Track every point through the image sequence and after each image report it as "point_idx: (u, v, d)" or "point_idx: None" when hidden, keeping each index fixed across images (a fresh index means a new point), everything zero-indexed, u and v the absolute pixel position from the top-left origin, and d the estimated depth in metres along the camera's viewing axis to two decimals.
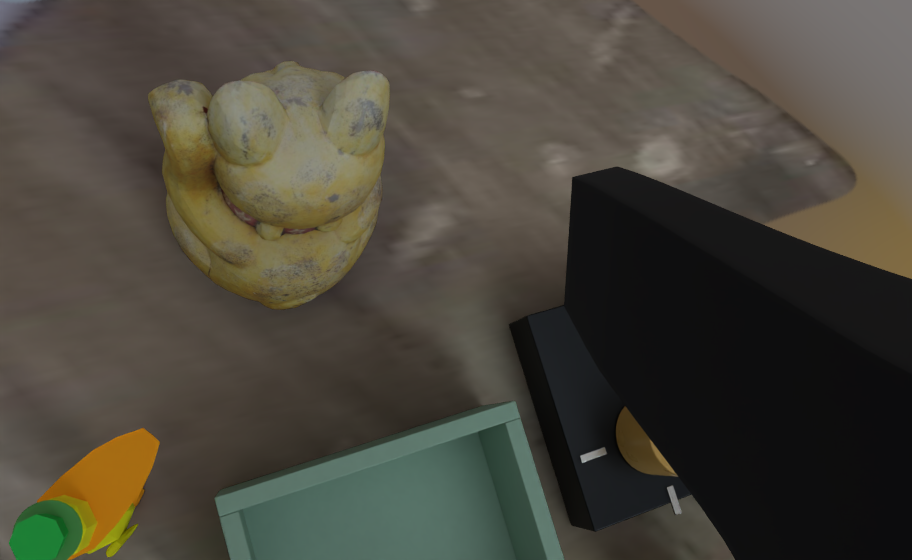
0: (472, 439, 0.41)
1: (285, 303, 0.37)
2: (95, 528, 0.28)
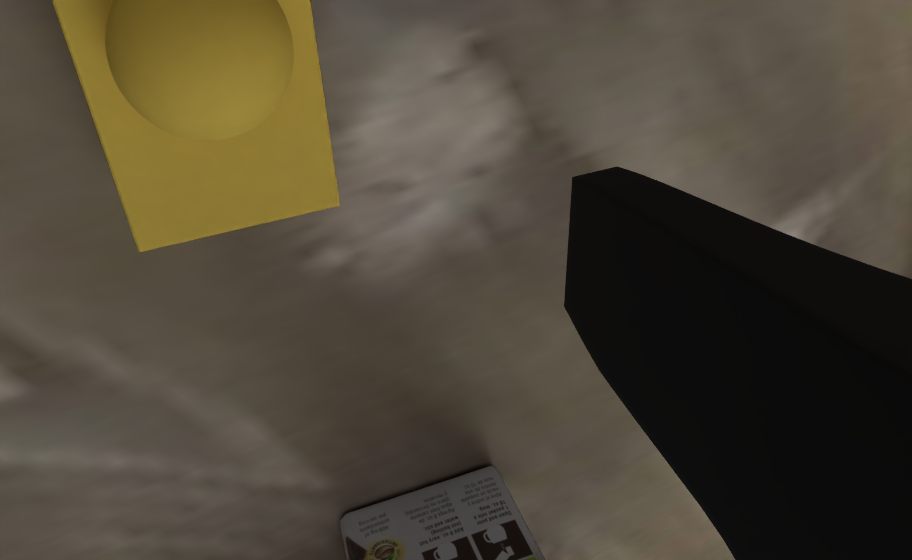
0: None
1: None
2: None
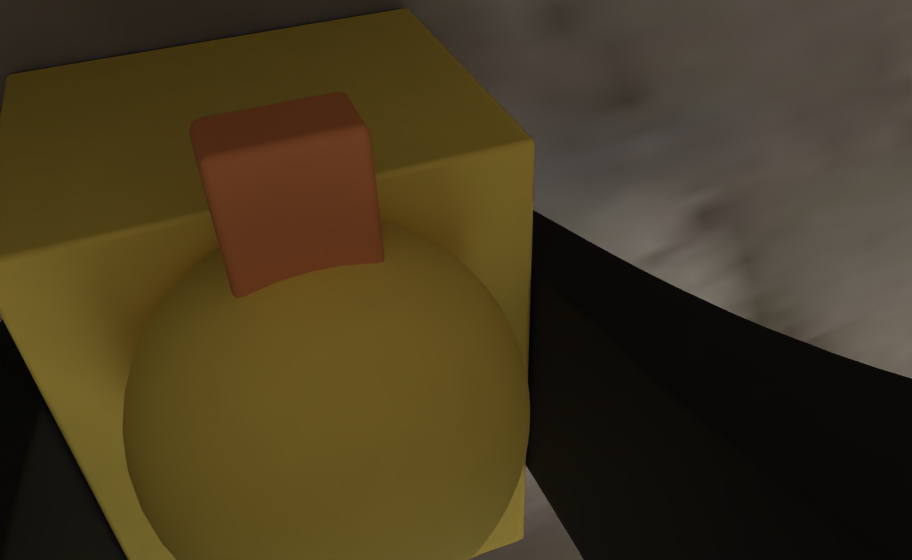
0: None
1: None
2: None
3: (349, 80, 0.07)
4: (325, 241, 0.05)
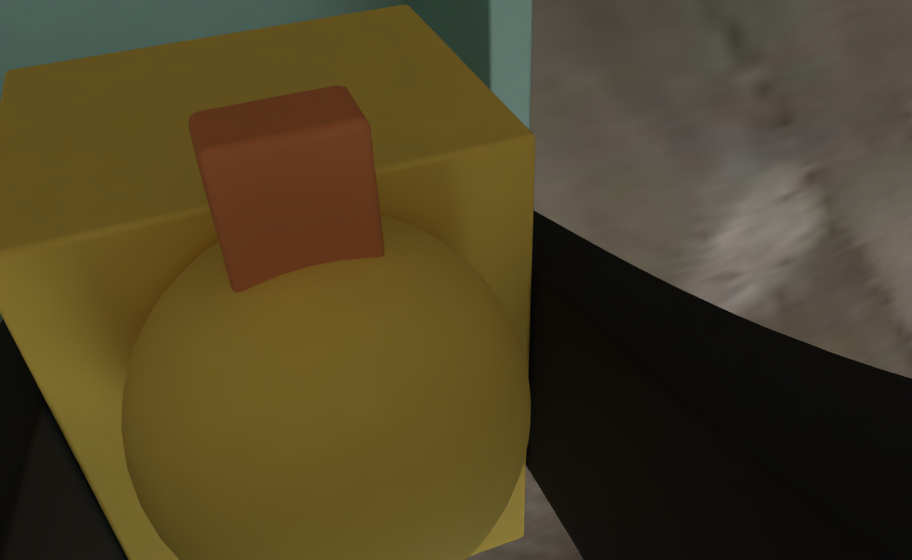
0: None
1: None
2: None
3: (348, 76, 0.07)
4: (324, 234, 0.05)
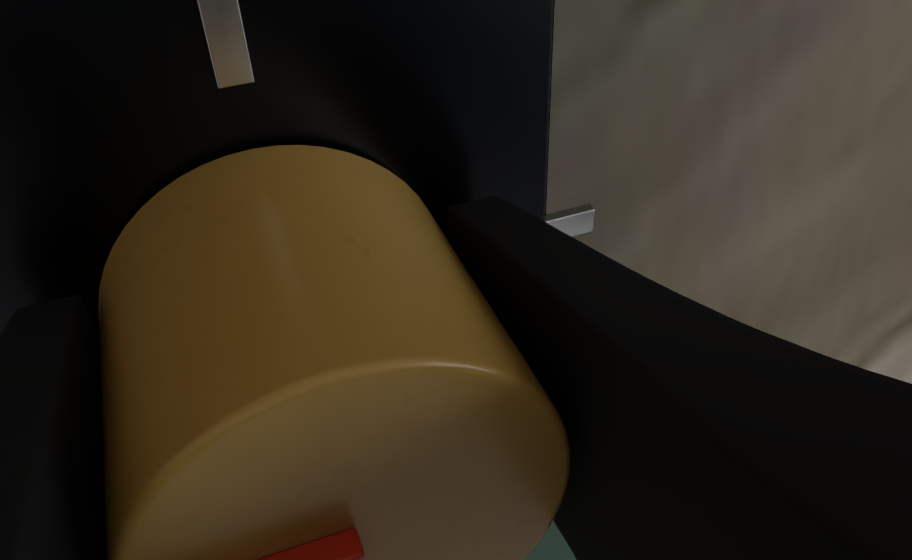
0: None
1: None
2: None
3: None
4: None
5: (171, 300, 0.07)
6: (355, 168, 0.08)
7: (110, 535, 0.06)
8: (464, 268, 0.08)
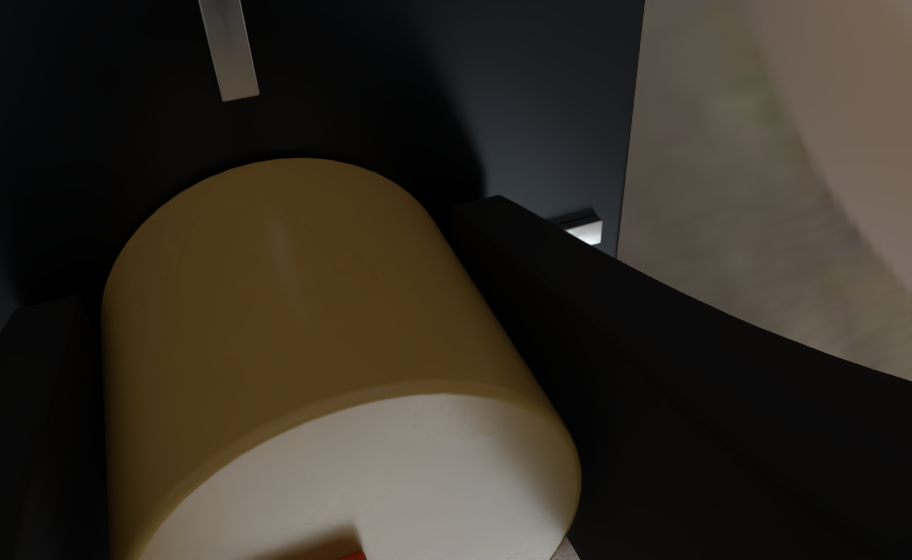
0: None
1: None
2: None
3: None
4: None
5: (174, 319, 0.07)
6: (361, 181, 0.08)
7: None
8: (472, 283, 0.08)
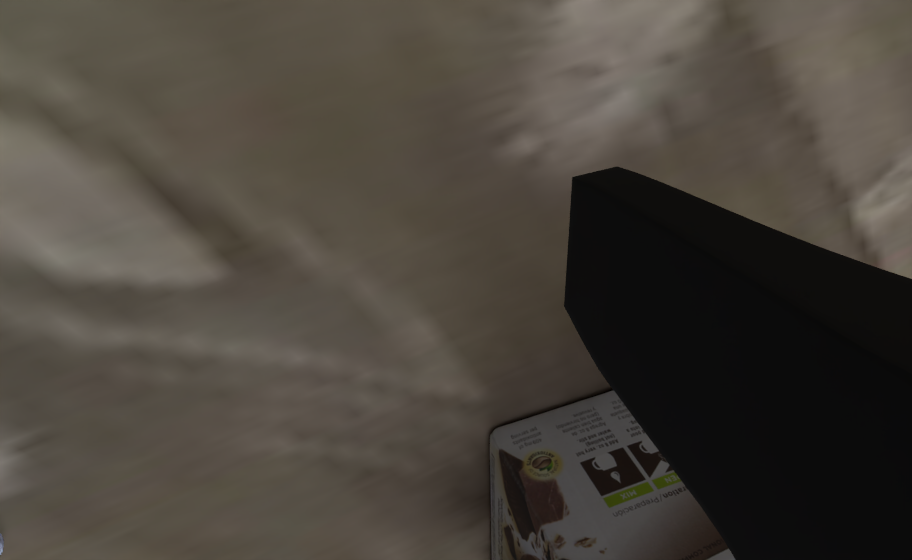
0: None
1: None
2: None
3: None
4: None
5: None
6: None
7: None
8: None
